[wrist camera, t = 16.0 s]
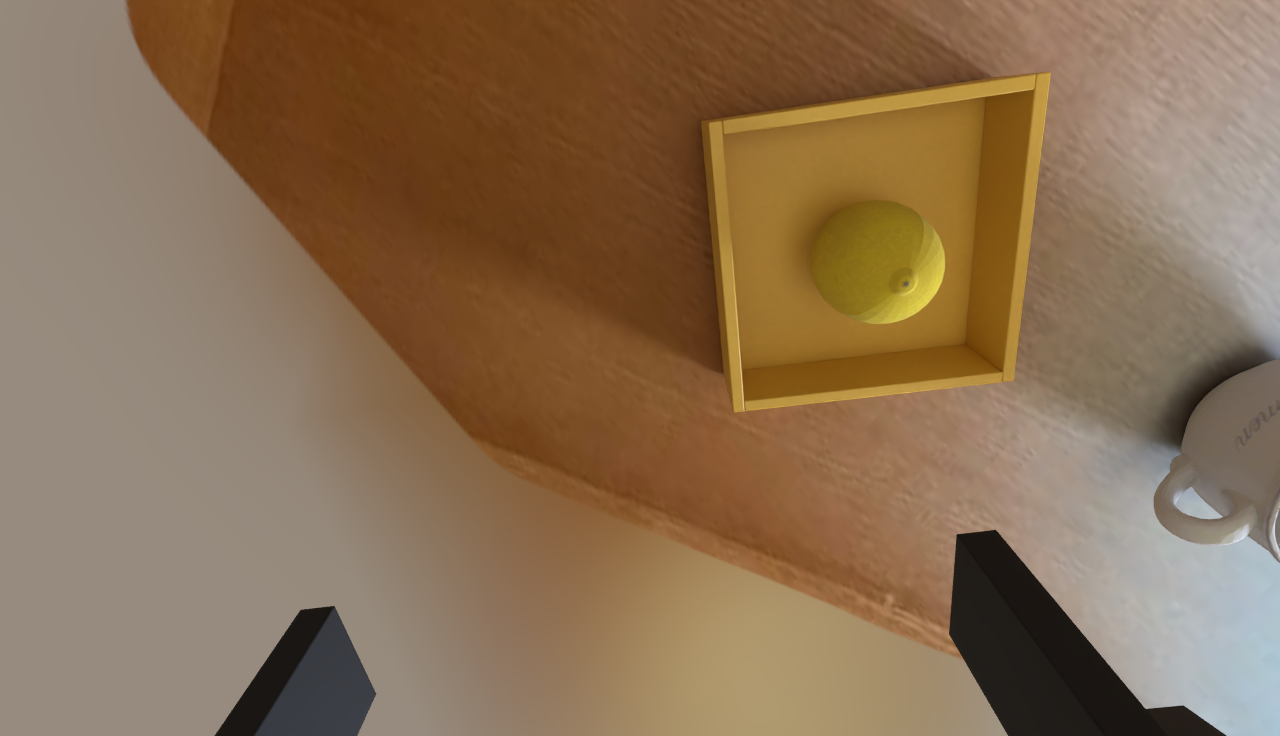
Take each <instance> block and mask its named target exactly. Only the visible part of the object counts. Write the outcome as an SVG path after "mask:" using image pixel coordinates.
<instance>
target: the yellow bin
mask: <svg viewBox="0 0 1280 736" xmlns="http://www.w3.org/2000/svg"><path fill="white" fill-rule="evenodd" d="M1050 74H1051V73H1050V72H1042V73H1032V74H1022V75H1013V76H1003V77H993V78H986V79H979V80H973V81H966V82H959V83H953V84H946V85H939V86H932V87H926V88H919V89H912V90H905V91H899V92H892V93H885V94H879V95H872V96H865V97H858V98H852V99H845V100H838V101H831V102H825V103H818V104H811V105H805V106H798V107H791V108H784V109H778V110H771V111H764V112H757V113H751V114H744V115H737V116H731V117H724V118H717V119H710V120H704V121H701V129H702V140H703V151H704V162H705V173H706V184H707V195H708V206H709V217H710V228H711V239H712V250H713V261H714V272H715V283H716V294H717V305H718V316H719V327H720V338H721V349H722V360H723V371H724V378H725V382H726V386H727V390H728V394H729V397H730V401H731V405H732V409H733V412H740V411H744V410H745V411H749V410H757V409H766V408H775V407H784V406H793V405H802V404H811V403H820V402H829V401H838V400H847V399H856V398H865V397H874V396H883V395H892V394H901V393H910V392H919V391H928V390H937V389H946V388H955V387H964V386H973V385H982V384H991V383H999V382H1008V381H1014V375H1015V366H1016V358H1017V349H1018V341H1019V333H1020V324H1021V316H1022V308H1023V299H1024V291H1025V283H1026V274H1027V266H1028V258H1029V249H1030V241H1031V233H1032V224H1033V216H1034V208H1035V199H1036V191H1037V183H1038V174H1039V166H1040V157H1041V149H1042V141H1043V132H1044V124H1045V116H1046V107H1047V99H1048V91H1049V82H1050ZM870 200H884V201H894V202H897V203H899V204H902V205H905V206H907V207H910V208H912V209H913V210H915V211H916V212H917V213H919V214H920V215H921V216H922V217H924V218H925V219H926V220H927V221H928V222H929V223H930V224H931V226H932V227H933V228H934V230H935V231H936V233H937V234H938V236H939V238H940V240H941V243H942V246H943V249H944V253H945V271H944V275H943V280H942V283H941V285H940V287H939V289H938V291H937V293H936V294H935V295H934V297H933V298H932V299H931V300H930V302H929V303H928V304H927V305H926V306H925V307H923V308H922V309H921V310H920V311H919V312H917V313H916V314H914V315H912V316H910V317H908V318H906V319H904V320H900V321H896V322H893V323H888V324H871V323H866V322H862V321H857V320H854V319H851V318H849V317H847V316H845V315H843V314H842V313H840V312H838V311H836V310H835V309H834V308H833V307H832V306H831V305H830V304H829V303H828V302H826V301H825V300H824V298H823V297H822V295H821V294H820V292H819V290H818V289H817V287H816V285H815V283H814V279H813V275H812V271H811V252H812V248H813V245H814V241H815V239H816V237H817V235H818V233H819V232H820V230H821V228H822V227H823V226H824V225H825V223H826V222H827V221H828V220H829V219H830V218H831V217H832V216H833V215H835V214H836V213H838V212H839V211H840V210H842V209H843V208H846V207H848V206H851V205H853V204H855V203H858V202H864V201H870Z"/></svg>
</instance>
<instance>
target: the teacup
mask: <svg viewBox="0 0 1280 736" xmlns="http://www.w3.org/2000/svg"><path fill="white" fill-rule="evenodd" d="M1170 471H1171V472H1170V473H1169V474H1168V475H1167V476H1166V477H1165V478H1164V480H1163V481H1162V482H1161V483H1160V484H1159V486H1158V488H1157V490H1156V492H1155V495H1154V510H1155V514H1156V517H1157V518H1158V520H1159V522H1160V523H1161V524H1162V525H1163V526H1164V527H1165V528H1166V529H1167V530H1168V531H1170V532H1171V533H1172V534H1174V535H1176V536H1177V537H1179V538H1181V539H1184V540H1186V541H1189V542H1193V543H1197V544H1201V545H1210V546H1218V545H1227V544H1233V543H1235V542H1237V541H1239V540H1241V539H1243V538H1244V537H1245V536H1249V537H1250V538H1251V539H1253V540H1254V541H1256V542H1257V543H1258V544H1260V545H1261V546H1262V547H1264V548H1265V549H1266V550H1268V551H1269V552H1270V553H1271V554H1272V555H1273V557H1274V558H1275V559H1276V560H1277V561H1278V562H1279V563H1280V359H1276V360H1273V361H1269V362H1266V363H1264V364H1261V365H1259V366H1256V367H1254V368H1252V369H1249V370H1247V371H1244V372H1241V373H1239V374H1237V375H1235V376H1233V377H1231V378H1229V379H1227V380H1226V381H1224V382H1223V383H1221V384H1220V385H1218V386H1217V387H1215V388H1214V389H1213V390H1212V391H1210V392H1209V393H1208V394H1207V395H1206V396H1205V397H1204V398H1203V399H1202V400H1201V401H1200V403H1199V404H1198V405H1197V407H1196V408H1195V410H1194V411H1193V413H1192V415H1191V416H1190V418H1189V421H1188V423H1187V426H1186V430H1185V434H1184V437H1183V440H1182V447H1181V455H1180V456H1178V457H1176V458H1174V459H1173V460H1172V462H1171V464H1170ZM1191 486H1192V488H1193V489H1194V490H1195V492H1196V493H1197V494H1198V495H1199V496H1200V497H1201V498H1202V499H1203V500H1204V501H1205V502H1206V503H1207V504H1208V505H1210V506H1211V507H1212V508H1213V509H1214V510H1216V511H1217V512H1218V513H1219V514H1220V515H1222V516H1223V518H1220V519H1200V518H1196V517H1192V516H1189V515H1187V514H1184V513H1182V512H1181V511H1179V510H1178V509H1177V507H1176V506H1175V504H1176V501H1177V499H1178V498H1179V497H1180V496H1181V494H1182V493H1183V492H1184V491H1185V490H1187V489H1188V488H1189V487H1191Z"/></svg>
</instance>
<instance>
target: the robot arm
mask: <svg viewBox="0 0 1280 736" xmlns="http://www.w3.org/2000/svg"><path fill="white" fill-rule="evenodd" d="M949 635H950V636H951V638H952V640H953V642H954V643H955V645H956V647H957V648H958V650H959V652H960V654H961V655H962V657H963V659H964V660H965V662H966V664H967V666H968V667H969V669H970V671H971V673H972V674H973V676H974V677H975V679H976V681H977V683H978V685H979V686H980V688H981V690H982V691H983V693H984V695H985V696H986V698H987V700H988V702H989V703H990V705H991V707H992V709H993V710H994V712H995V714H996V715H997V717H998V719H999V721H1000V722H1001V724H1002V726H1003V728H1004V729H1005V731H1006V733H1007V734H1008V736H1226V735H1225V734H1223V733H1222V732H1220V731H1219V730H1218V729H1216V728H1215V727H1213V726H1212V725H1210V724H1209V723H1208V722H1206V721H1205V720H1203V719H1202V718H1200V717H1199V716H1198V715H1196V714H1195V713H1193V712H1192V711H1191V710H1189V709H1188V708H1186V707H1185V706H1173V707H1162V708H1152V709H1145V708H1144V707H1143V705H1142V704H1141V703H1140V702H1139V701H1138V699H1137V698H1136V697H1135V696H1134V695H1133V693H1132V692H1131V691H1130V690H1129V689H1128V688H1127V686H1126V685H1125V684H1124V683H1123V682H1122V680H1121V679H1120V678H1119V677H1118V676H1117V674H1116V673H1115V672H1114V671H1113V670H1112V668H1111V667H1110V666H1109V665H1108V664H1107V662H1106V661H1105V660H1104V659H1103V658H1102V656H1101V655H1100V654H1099V653H1098V652H1097V650H1096V649H1095V648H1094V647H1093V646H1092V644H1091V643H1090V642H1089V641H1088V640H1087V638H1086V637H1085V636H1084V635H1083V634H1082V632H1081V631H1080V630H1079V629H1078V628H1077V626H1076V625H1075V624H1074V623H1073V622H1072V620H1071V619H1070V618H1069V617H1068V616H1067V614H1066V613H1065V612H1064V611H1063V610H1062V608H1061V607H1060V606H1059V605H1058V604H1057V603H1056V601H1055V600H1054V599H1053V598H1052V597H1051V595H1050V594H1049V593H1048V592H1047V591H1046V589H1045V588H1044V587H1043V586H1042V585H1041V583H1040V582H1039V581H1038V580H1037V579H1036V577H1035V576H1034V575H1033V574H1032V573H1031V571H1030V570H1029V569H1028V568H1027V567H1026V565H1025V564H1024V563H1023V562H1022V561H1021V559H1020V558H1019V557H1018V556H1017V555H1016V553H1015V552H1014V551H1013V550H1012V549H1011V547H1010V546H1009V545H1008V544H1007V543H1006V541H1005V540H1004V539H1003V538H1002V537H1001V535H1000V534H999V533H998V532H997V531H996V530H991V531H983V532H974V533H965V534H957V539H956V552H955V565H954V578H953V591H952V604H951V617H950V630H949ZM375 695H376V693H375V691H374V688H373V686H372V684H371V682H370V680H369V678H368V676H367V674H366V672H365V669H364V668H363V665H362V663H361V661H360V659H359V657H358V655H357V653H356V650H355V649H354V646H353V644H352V642H351V640H350V638H349V636H348V634H347V632H346V629H345V627H344V625H343V623H342V621H341V619H340V617H339V615H338V613H337V611H336V608H335V606H331V607H322V608H313V609H304V610H300V612H299V613H298V615H297V616H296V617H295V619H294V620H293V622H292V623H291V625H290V626H289V628H288V629H287V631H286V632H285V634H284V635H283V636H282V638H281V639H280V641H279V642H278V644H277V645H276V647H275V649H274V650H273V651H272V653H271V654H270V656H269V657H268V658H267V660H266V661H265V663H264V664H263V666H262V667H261V669H260V670H259V672H258V673H257V675H256V676H255V678H254V679H253V680H252V682H251V683H250V685H249V686H248V688H247V689H246V691H245V692H244V694H243V695H242V697H241V698H240V699H239V701H238V702H237V704H236V705H235V707H234V708H233V710H232V711H231V713H230V714H229V716H228V717H227V719H226V720H225V722H224V723H223V724H222V726H221V727H220V729H219V730H218V732H217V733H216V735H215V736H357V735H358V733H359V730H360V728H361V726H362V724H363V721H364V720H365V717H366V715H367V713H368V711H369V709H370V706H371V704H372V702H373V700H374V697H375Z"/></svg>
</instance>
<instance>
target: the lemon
mask: <svg viewBox="0 0 1280 736" xmlns="http://www.w3.org/2000/svg"><path fill="white" fill-rule="evenodd" d="M811 271H812V275H813V279H814V283H815V285H816V287H817V289H818V290H819V292H820V294H821V295H822V297H823V298H824V300H825V301H826V302H828V303H829V304H830V305H831V306H832V307H833V308H834V309H835V310H836V311H838V312H840V313H842V314H843V315H845V316H847V317H849V318H851V319H854V320H857V321H862V322H866V323H871V324H888V323H893V322H896V321H900V320H904V319H906V318H908V317H910V316H912V315H914V314H916V313H917V312H919V311H920V310H921V309H922V308H923V307H925V306H926V305H927V304H928V303H929V302H930V300H931V299H932V298H933V297H934V295H935V294H936V293H937V291H938V289H939V287H940V285H941V283H942V280H943V275H944V271H945V253H944V249H943V246H942V243H941V240H940V238H939V236H938V234H937V233H936V231H935V230H934V228H933V227H932V226H931V224H930V223H929V222H928V221H927V220H926V219H925V218H924V217H922V216H921V215H920V214H919V213H917V212H916V211H915V210H913V209H912V208H910V207H907V206H905V205H902V204H899V203H897V202H894V201H884V200H870V201H864V202H858V203H855V204H853V205H851V206H848V207H846V208H843V209H842V210H840V211H839V212H838V213H836V214H835V215H833V216H832V217H831V218H830V219H829V220H828V221H827V222H826V223H825V225H824V226H823V227H822V228H821V230H820V232H819V233H818V235H817V237H816V239H815V241H814V245H813V248H812V252H811Z"/></svg>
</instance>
